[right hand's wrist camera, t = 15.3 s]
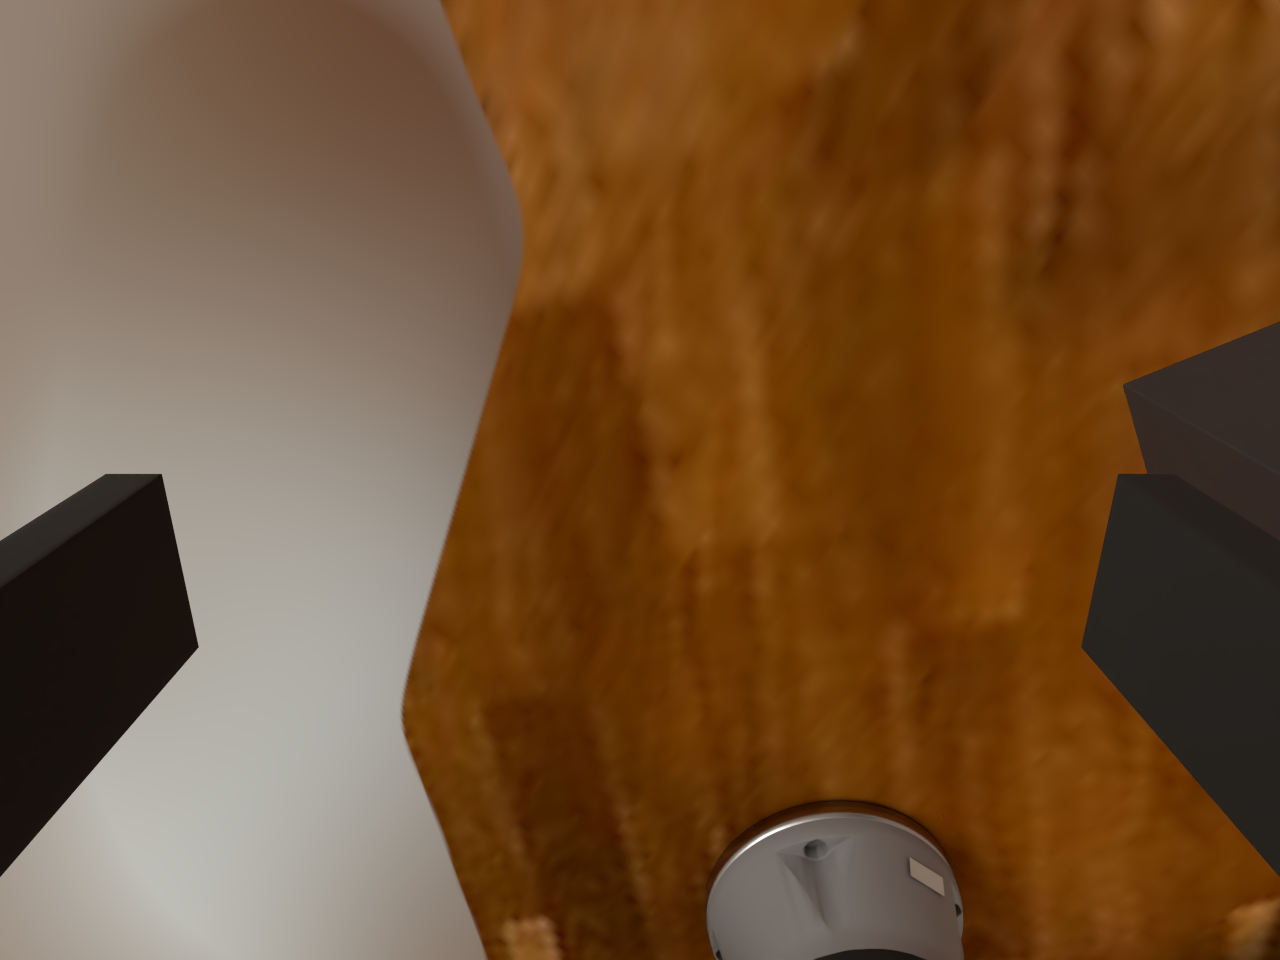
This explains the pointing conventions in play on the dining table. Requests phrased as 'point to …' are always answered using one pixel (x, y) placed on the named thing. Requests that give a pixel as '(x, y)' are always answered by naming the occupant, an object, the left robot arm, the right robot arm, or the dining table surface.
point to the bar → (1218, 424)
